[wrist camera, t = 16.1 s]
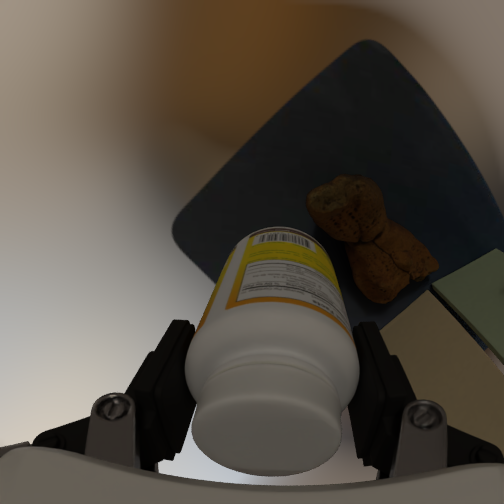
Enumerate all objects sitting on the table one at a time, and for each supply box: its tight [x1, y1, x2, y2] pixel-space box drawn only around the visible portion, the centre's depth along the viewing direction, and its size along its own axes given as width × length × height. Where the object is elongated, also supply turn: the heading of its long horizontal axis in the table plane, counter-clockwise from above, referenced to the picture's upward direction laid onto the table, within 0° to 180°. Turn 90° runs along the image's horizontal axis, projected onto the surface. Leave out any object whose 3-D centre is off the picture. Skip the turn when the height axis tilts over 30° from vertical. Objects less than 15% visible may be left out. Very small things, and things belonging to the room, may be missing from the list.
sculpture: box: [306, 174, 439, 304], centre depth 25 cm, size 8×10×15 cm
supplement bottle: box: [185, 227, 360, 476], centre depth 12 cm, size 6×6×10 cm
